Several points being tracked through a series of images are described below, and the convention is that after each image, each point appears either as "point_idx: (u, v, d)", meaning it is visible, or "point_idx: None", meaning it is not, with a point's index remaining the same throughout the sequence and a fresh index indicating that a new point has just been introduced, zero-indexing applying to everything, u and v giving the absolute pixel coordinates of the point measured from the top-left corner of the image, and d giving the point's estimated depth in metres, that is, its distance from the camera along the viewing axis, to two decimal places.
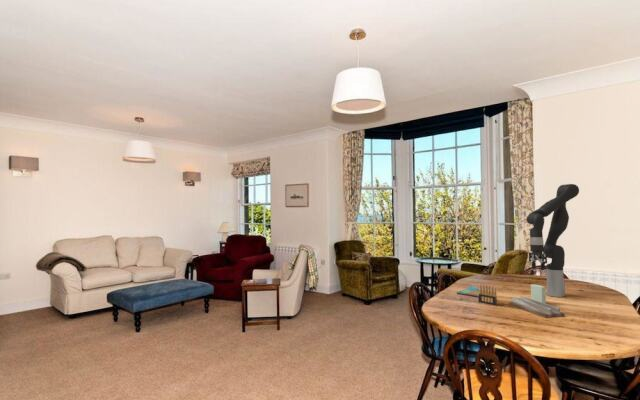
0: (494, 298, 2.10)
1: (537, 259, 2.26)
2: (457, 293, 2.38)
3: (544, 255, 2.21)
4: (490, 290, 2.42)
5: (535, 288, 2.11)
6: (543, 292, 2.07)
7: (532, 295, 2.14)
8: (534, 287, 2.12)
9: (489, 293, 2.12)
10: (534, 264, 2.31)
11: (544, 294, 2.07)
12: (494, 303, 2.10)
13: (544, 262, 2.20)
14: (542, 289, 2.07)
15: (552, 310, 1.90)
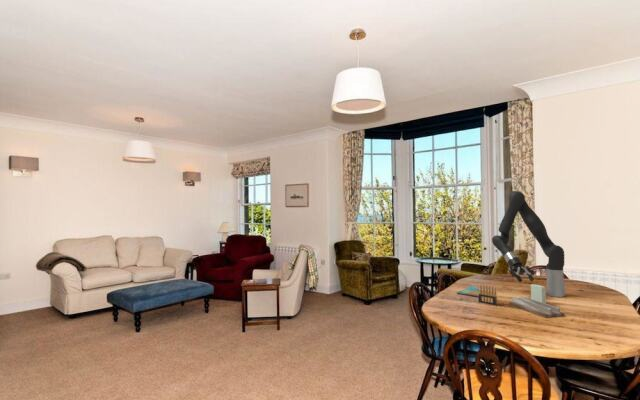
0: (494, 298, 2.10)
1: (518, 273, 2.24)
2: (457, 293, 2.38)
3: (509, 269, 2.25)
4: (490, 290, 2.41)
5: (535, 288, 2.11)
6: (543, 292, 2.07)
7: (532, 295, 2.14)
8: (534, 287, 2.12)
9: (489, 293, 2.12)
10: (530, 276, 2.22)
11: (544, 294, 2.07)
12: (494, 303, 2.10)
13: (512, 275, 2.22)
14: (542, 289, 2.07)
15: (552, 310, 1.90)
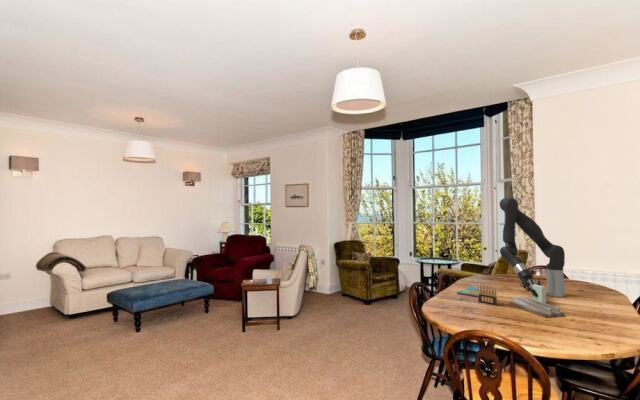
0: (494, 298, 2.10)
1: None
2: (457, 293, 2.38)
3: (522, 284, 2.15)
4: (490, 290, 2.41)
5: (535, 288, 2.11)
6: (543, 292, 2.07)
7: (532, 295, 2.14)
8: (534, 287, 2.12)
9: (489, 293, 2.12)
10: None
11: (544, 294, 2.07)
12: (494, 303, 2.10)
13: (527, 289, 2.14)
14: (542, 288, 2.07)
15: (552, 310, 1.90)
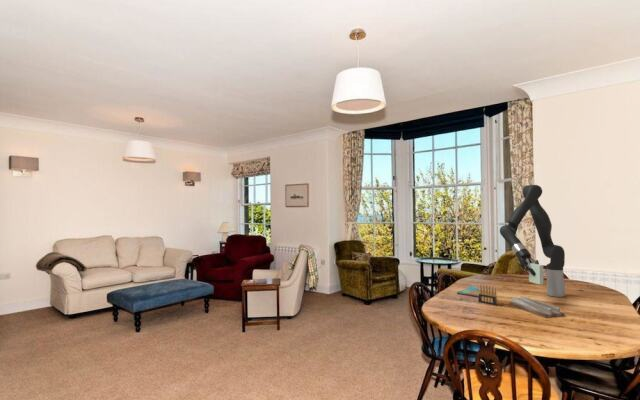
0: (494, 298, 2.10)
1: None
2: (457, 293, 2.38)
3: (519, 263, 2.14)
4: (490, 290, 2.41)
5: (533, 266, 2.10)
6: (541, 270, 2.06)
7: (530, 274, 2.12)
8: (532, 266, 2.11)
9: (489, 293, 2.12)
10: None
11: (542, 272, 2.06)
12: (494, 303, 2.10)
13: (525, 268, 2.12)
14: (539, 267, 2.06)
15: (552, 310, 1.90)
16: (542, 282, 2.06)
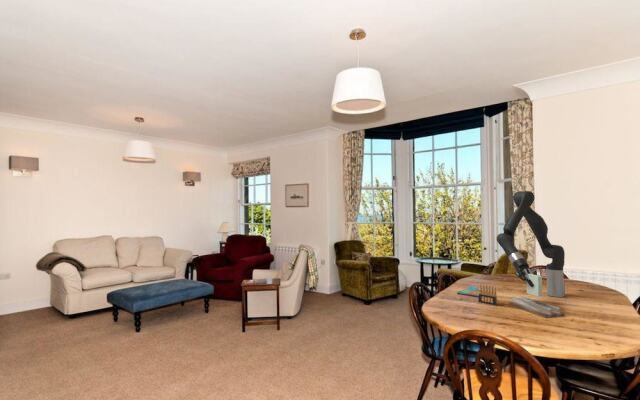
0: (494, 298, 2.10)
1: None
2: (457, 293, 2.38)
3: (517, 274, 2.03)
4: (490, 290, 2.41)
5: (531, 277, 1.99)
6: (539, 282, 1.95)
7: (528, 285, 2.02)
8: (530, 277, 2.00)
9: (489, 293, 2.12)
10: None
11: (540, 284, 1.95)
12: (494, 303, 2.10)
13: (523, 279, 2.01)
14: (538, 278, 1.95)
15: (552, 310, 1.90)
16: (541, 294, 1.95)
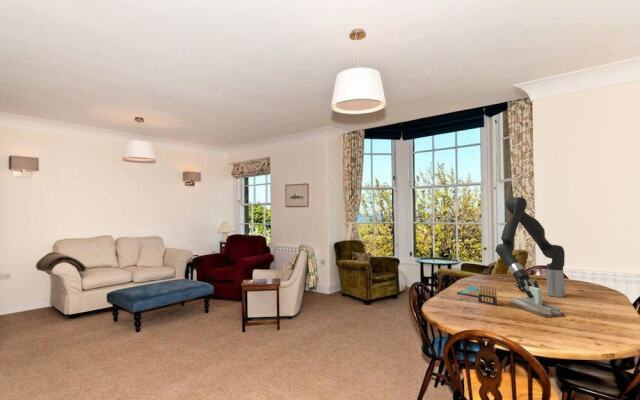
0: (494, 298, 2.10)
1: None
2: (457, 293, 2.38)
3: (516, 284, 2.03)
4: (490, 290, 2.41)
5: (531, 290, 1.99)
6: (539, 295, 1.95)
7: (528, 298, 2.02)
8: (530, 289, 2.00)
9: (489, 293, 2.12)
10: None
11: (540, 297, 1.95)
12: (494, 303, 2.10)
13: (522, 290, 2.01)
14: (538, 291, 1.95)
15: (552, 310, 1.90)
16: None
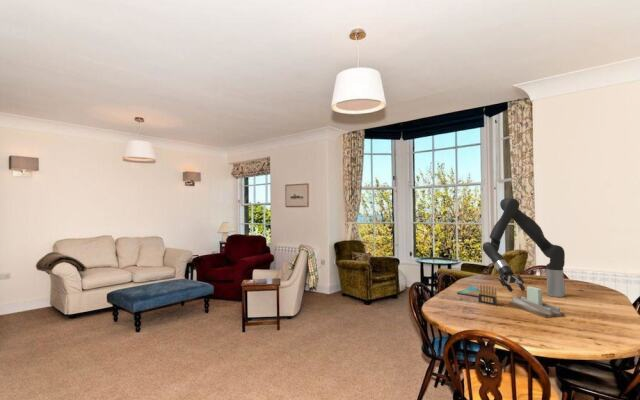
0: (494, 298, 2.10)
1: (509, 282, 2.16)
2: (457, 293, 2.38)
3: (499, 278, 2.17)
4: (490, 290, 2.41)
5: (532, 290, 1.99)
6: (539, 295, 1.95)
7: (528, 298, 2.02)
8: (530, 289, 2.00)
9: (489, 293, 2.12)
10: (521, 286, 2.14)
11: (541, 297, 1.95)
12: (494, 303, 2.10)
13: (502, 284, 2.14)
14: (538, 291, 1.95)
15: (552, 310, 1.90)
16: None
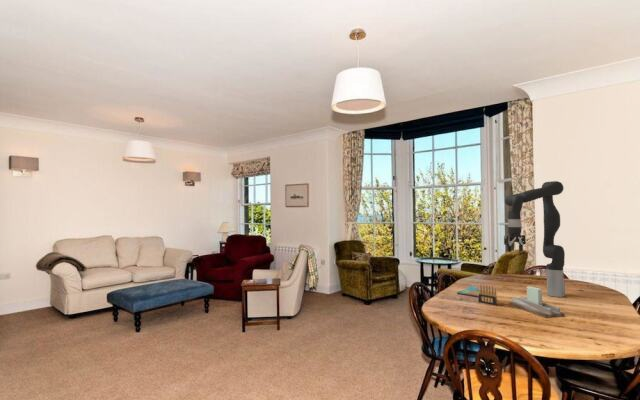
0: (494, 298, 2.10)
1: None
2: (457, 293, 2.38)
3: (505, 237, 2.24)
4: (490, 290, 2.41)
5: (532, 290, 1.99)
6: (539, 295, 1.95)
7: (528, 298, 2.02)
8: (530, 289, 2.00)
9: (489, 293, 2.12)
10: (520, 247, 2.25)
11: (541, 297, 1.95)
12: (494, 303, 2.10)
13: (504, 243, 2.24)
14: (538, 291, 1.95)
15: (552, 310, 1.90)
16: None
